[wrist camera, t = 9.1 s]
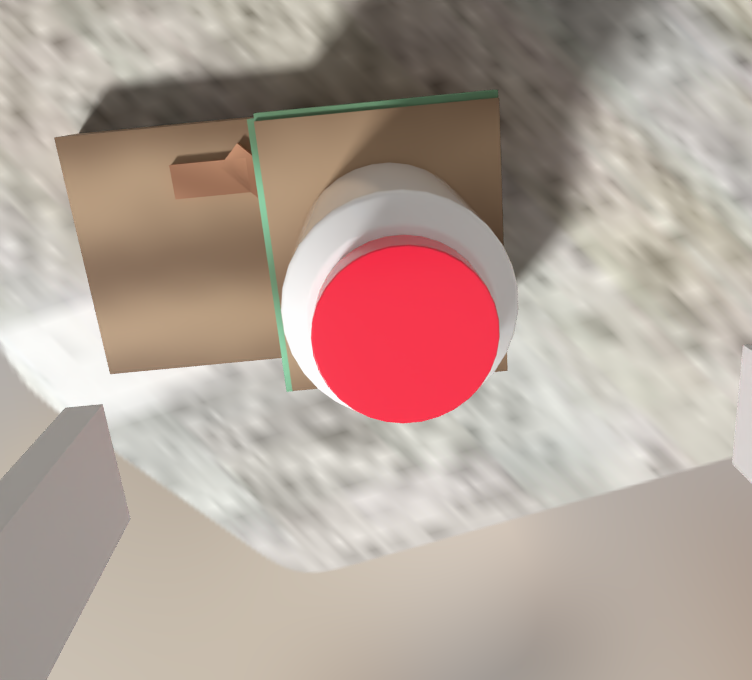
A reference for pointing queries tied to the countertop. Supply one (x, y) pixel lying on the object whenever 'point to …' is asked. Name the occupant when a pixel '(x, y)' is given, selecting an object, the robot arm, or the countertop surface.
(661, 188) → the countertop surface
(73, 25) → the countertop surface
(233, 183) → the stand
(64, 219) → the countertop surface
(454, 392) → the pill bottle
